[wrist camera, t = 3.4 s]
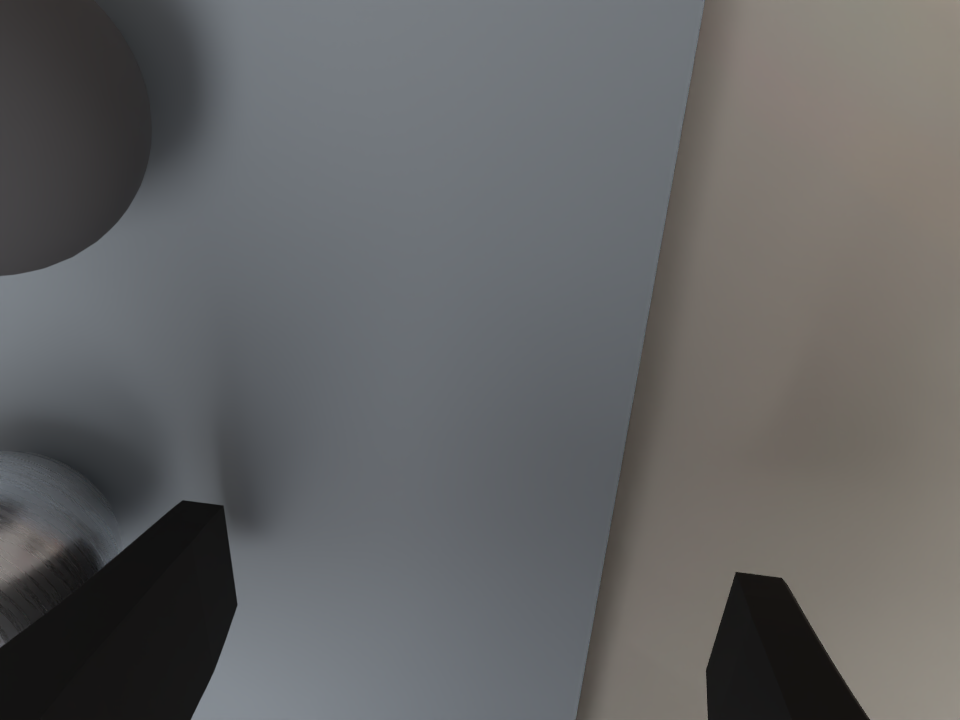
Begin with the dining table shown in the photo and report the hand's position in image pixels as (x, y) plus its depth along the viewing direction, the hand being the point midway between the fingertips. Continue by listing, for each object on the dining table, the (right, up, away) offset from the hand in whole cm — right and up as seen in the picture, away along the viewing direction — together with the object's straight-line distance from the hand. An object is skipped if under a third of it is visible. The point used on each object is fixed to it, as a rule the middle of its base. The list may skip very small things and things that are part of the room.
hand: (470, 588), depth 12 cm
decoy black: (-5, +6, -4) cm, 8 cm away
